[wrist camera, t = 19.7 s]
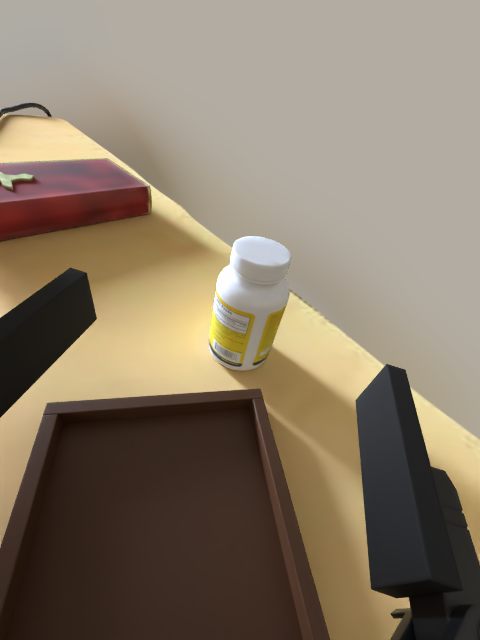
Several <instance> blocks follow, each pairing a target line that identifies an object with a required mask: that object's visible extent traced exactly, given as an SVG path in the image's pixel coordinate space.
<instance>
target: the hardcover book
mask: <svg viewBox="0 0 480 640" xmlns="http://www.w3.org/2000/svg"><path fill="white" fill-rule="evenodd" d="M151 208H152V199H151V189H150V186H149V185H148V184H146V183H144V182H143V181H141V180H140V179H138V178H137V177H135V176H134V175H132V174H131V173H129V172H128V171H126V170H124V169H123V168H121V167H120V166H118V165H117V164H115V163H114V162H112V161H111V160H109V159H107V158H105V159H82V160H58V161H35V162H11V163H0V241H3V240H9V239H14V238H20V237H25V236H31V235H36V234H42V233H47V232H53V231H58V230H64V229H69V228H75V227H80V226H86V225H91V224H96V223H102V222H107V221H113V220H118V219H124V218H129V217H135V216H140V215H146V214H150V213H151Z"/></svg>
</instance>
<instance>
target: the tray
mask: <svg viewBox="0 0 480 640" xmlns="http://www.w3.org/2000/svg"><path fill="white" fill-rule="evenodd" d="M43 415H44V416H43V418H42V421H41V424H40V427H39V430H38V433H37V436H36V439H35V442H34V445H33V448H32V452H31V455H30V458H29V461H28V464H27V467H26V470H25V473H24V476H23V479H22V482H21V486H20V489H19V492H18V495H17V498H16V501H15V504H14V507H13V510H12V513H11V516H10V520H9V523H8V526H7V529H6V532H5V535H4V538H3V541H2V544H1V547H0V640H330V638H329V634H328V631H327V627H326V624H325V620H324V616H323V613H322V609H321V606H320V602H319V598H318V595H317V591H316V587H315V584H314V580H313V577H312V573H311V569H310V566H309V562H308V559H307V555H306V551H305V548H304V544H303V541H302V537H301V533H300V530H299V526H298V523H297V519H296V515H295V512H294V508H293V505H292V501H291V497H290V494H289V490H288V487H287V483H286V479H285V476H284V472H283V468H282V465H281V461H280V458H279V454H278V450H277V447H276V443H275V440H274V436H273V432H272V429H271V425H270V422H269V418H268V414H267V411H266V407H265V404H264V400H263V396H262V392H261V389H247V390H232V391H217V392H202V393H187V394H172V395H157V396H143V397H128V398H113V399H98V400H83V401H68V402H53V403H47V405H46V408H45V411H44V414H43Z"/></svg>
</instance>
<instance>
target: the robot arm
mask: <svg viewBox="0 0 480 640" xmlns="http://www.w3.org/2000/svg"><path fill="white" fill-rule="evenodd" d="M29 107H36V108H39V109H41V110H43V111H44V112H45V113H46V114H47V116H48V117H52V116H51V114H50V112H49V111H48V110H47V109H46V108H45V107H43V106H42V105H39V104H36V103H24V104H20V105H16V106H12V107H8V108H3V109H0V117H1V116H2V115H3V114H5V113H8V112H13V111H17V110H20V109H24V108H29ZM96 319H97V317H96V313H95V308H94V304H93V299H92V295H91V290H90V286H89V281H88V276H87V273H86V272H83V271H79V270H76V269H73V268H69V269H68V270H66V271H65V272H64V273H62V274H61V275H59V276H58V277H57V278H55V279H54V280H53V281H51V282H50V283H48V284H47V285H46V286H44V287H43V288H41V289H40V290H39V291H37V292H36V293H34V294H33V295H32V296H30V297H29V298H27V299H26V300H25V301H23V302H22V303H20V304H19V305H18V306H16V307H15V308H14V309H12V310H11V311H9V312H8V313H7V314H5V315H4V316H2V317H1V318H0V417H1V416H2V415H3V414H4V413H5V412H6V411H7V410H8V409H9V408H10V407H11V406H12V405H13V404H14V403H15V402H16V401H17V400H18V399H19V398H20V397H21V396H22V395H23V394H24V393H25V392H26V391H27V390H28V389H29V388H30V387H31V386H32V385H33V384H34V383H35V382H36V381H37V380H38V379H39V378H40V377H41V376H42V375H43V374H44V373H45V371H46V370H47V369H48V368H49V367H50V366H51V365H52V364H53V363H54V362H55V361H56V360H57V359H58V358H59V357H60V356H61V355H62V354H63V353H64V352H65V351H66V350H67V349H68V348H69V347H70V346H71V345H72V344H73V343H74V342H75V341H76V340H77V339H78V338H79V337H80V336H81V335H82V334H83V333H84V332H85V331H86V330H87V329H88V328H89V327H90V326H91V325H92V323H93V322H94V321H95V320H96ZM356 410H357V423H358V435H359V447H360V459H361V471H362V484H363V496H364V508H365V520H366V533H367V545H368V557H369V569H370V581H371V589H372V590H375V591H378V592H380V593H383V594H386V595H389V596H392V597H395V598H404V597H409V601H410V607H411V608H407V609H396V610H395V611H393V612H392V613H391V615H392V616H393V618H402V620H401V621H400V623H399V625H398V627H397V628H396V630H395V632H394V634H393V635H392V637H391V639H390V640H480V564H479V561H478V558H477V555H476V552H475V548H474V545H473V542H472V539H471V535H470V532H469V530H467V523H466V519H465V516H464V514H463V513H462V506H461V503H460V500H459V497H458V494H457V490H456V489H455V487H454V485H453V484H452V482H451V480H450V479H449V477H448V475H447V474H446V472H445V471H443V470H440V469H437V468H433V467H431V465H430V461H429V458H428V454H427V450H426V446H425V442H424V439H423V435H422V431H421V427H420V423H419V420H418V416H417V412H416V408H415V404H414V401H413V397H412V393H411V389H410V385H409V382H408V378H407V374H406V370H404V369H401V368H398V367H395V366H391V365H388V364H386V365H385V367H384V368H383V369H382V370H381V371H380V372H379V374H378V375H377V376H376V377H375V378H374V379H373V381H372V382H371V383H370V384H369V385H368V387H367V388H366V389H365V390H364V391H363V392H362V394H361V395H360V396H359V397H358V398H357V399H356Z"/></svg>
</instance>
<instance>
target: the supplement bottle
mask: <svg viewBox="0 0 480 640" xmlns="http://www.w3.org/2000/svg"><path fill="white" fill-rule="evenodd" d="M290 262H291V254H290V252H289V250H288V249H287V248H286V247H284V246H283V245H281V244H280V243H278V242H276V241H273V240H271V239H267V238H263V237H256V236H249V237H242V238H240V239H238V240H237V241H235V243H234V244H233V248H232V253H231V257H230V265H229V266H227V267H225V268H224V269H223V270H222V271H221V273H220V274H219V276H218V280H217V284H216V291H215V298H214V306H213V313H212V320H211V328H210V335H209V348H210V352H211V354H212V356H213V357H214V358H215V359H216V360H217V361H218V362H219V363H220V364H222V365H223V366H225V367H227V368H230V369H233V370H239V371H246V370H251V369H254V368H257V367H259V366H260V365H261V364H263V363H264V361H265V360H266V358H267V356H268V354H269V352H270V349H271V346H272V343H273V340H274V338H275V335H276V332H277V329H278V327H279V324H280V321H281V318H282V316H283V313H284V310H285V308H286V305H287V302H288V299H289V294H290V291H289V286H288V283H287V281H286V280H285V276H286V275H287V272H288V269H289V265H290Z"/></svg>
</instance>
